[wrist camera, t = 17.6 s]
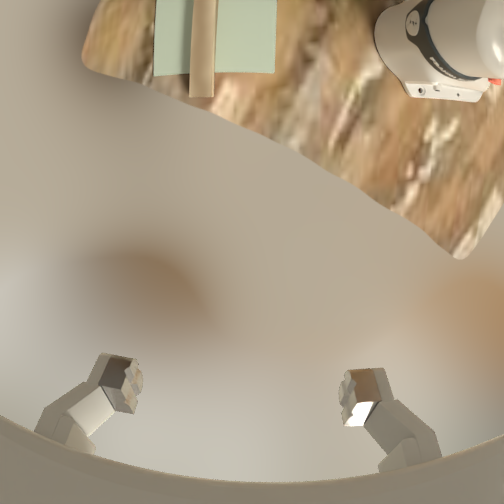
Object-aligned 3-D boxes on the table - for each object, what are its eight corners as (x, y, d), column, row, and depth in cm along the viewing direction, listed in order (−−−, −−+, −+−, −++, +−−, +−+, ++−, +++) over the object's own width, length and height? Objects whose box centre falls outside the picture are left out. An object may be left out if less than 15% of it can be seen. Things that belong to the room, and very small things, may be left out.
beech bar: (220, -21, 30) (217, -28, 27) (213, 96, 40) (210, 97, 37) (200, -20, 30) (196, -27, 27) (193, 97, 40) (189, 97, 37)
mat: (277, -39, 28) (277, -40, 28) (274, 73, 38) (274, 73, 38) (160, -32, 29) (159, -33, 28) (154, 76, 39) (153, 76, 38)
